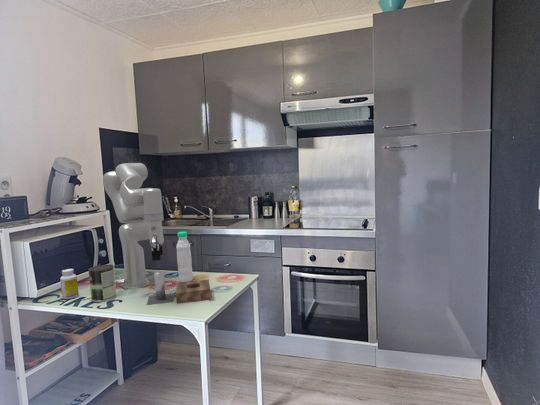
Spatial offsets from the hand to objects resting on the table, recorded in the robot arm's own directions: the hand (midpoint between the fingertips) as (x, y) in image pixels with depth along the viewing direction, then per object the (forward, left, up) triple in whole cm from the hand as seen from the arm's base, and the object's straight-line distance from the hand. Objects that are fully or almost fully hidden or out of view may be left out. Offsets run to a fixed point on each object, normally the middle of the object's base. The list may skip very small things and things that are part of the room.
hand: (157, 257), depth 150 cm
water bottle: (+10, +25, -19) cm, 33 cm away
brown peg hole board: (+14, -1, -19) cm, 24 cm away
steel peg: (0, 0, -18) cm, 18 cm away
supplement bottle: (-42, +20, -19) cm, 51 cm away
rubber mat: (0, 0, -19) cm, 19 cm away
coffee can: (-26, +13, -19) cm, 35 cm away
